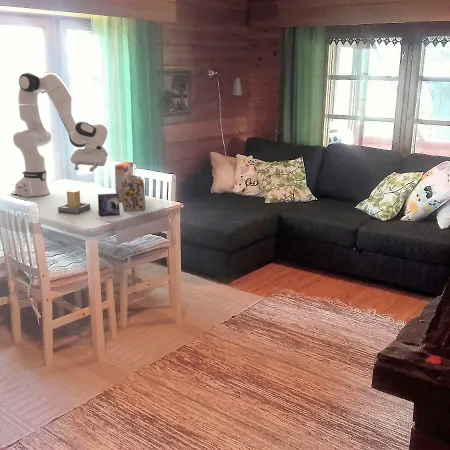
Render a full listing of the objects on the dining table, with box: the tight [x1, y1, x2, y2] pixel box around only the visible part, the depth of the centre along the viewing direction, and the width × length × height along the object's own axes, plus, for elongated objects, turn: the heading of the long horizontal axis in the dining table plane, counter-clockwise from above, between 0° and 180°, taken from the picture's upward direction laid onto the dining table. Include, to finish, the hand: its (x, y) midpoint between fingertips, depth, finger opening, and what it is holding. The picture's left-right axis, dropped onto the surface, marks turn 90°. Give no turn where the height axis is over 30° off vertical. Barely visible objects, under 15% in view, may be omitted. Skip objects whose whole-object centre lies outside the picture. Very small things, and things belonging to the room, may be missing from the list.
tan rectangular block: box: [66, 189, 81, 208], centre depth 288 cm, size 5×4×10 cm
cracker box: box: [114, 161, 134, 202], centre depth 314 cm, size 14×6×21 cm, turn 168°
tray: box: [57, 202, 91, 215], centre depth 289 cm, size 12×12×3 cm
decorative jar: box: [121, 174, 146, 212], centre depth 294 cm, size 12×12×18 cm
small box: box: [97, 193, 121, 217], centre depth 282 cm, size 11×6×10 cm, turn 107°
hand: (83, 170), depth 294 cm, fingers open, 8 cm apart
